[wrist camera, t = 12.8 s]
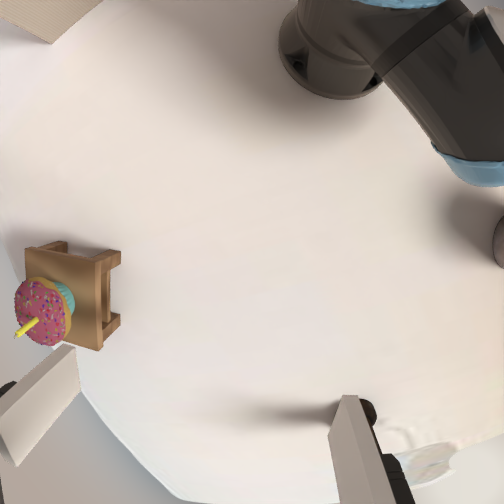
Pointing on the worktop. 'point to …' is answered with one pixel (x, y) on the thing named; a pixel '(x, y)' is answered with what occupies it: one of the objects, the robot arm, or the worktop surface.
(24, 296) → the cupcake
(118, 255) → the walnut stool
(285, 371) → the worktop surface
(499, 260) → the pillar candle
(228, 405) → the worktop surface
